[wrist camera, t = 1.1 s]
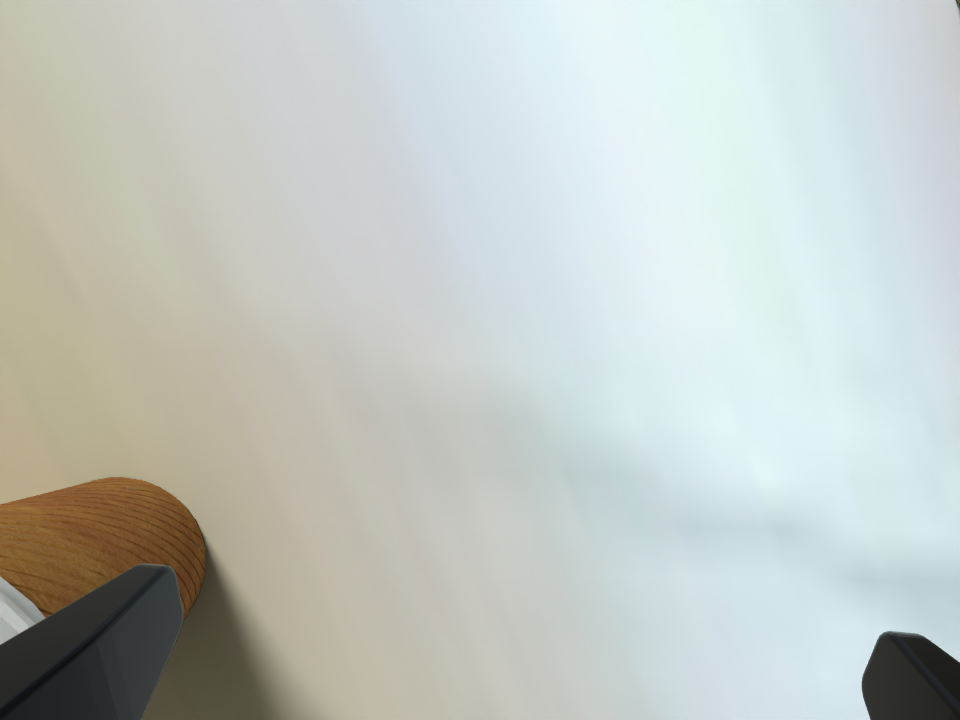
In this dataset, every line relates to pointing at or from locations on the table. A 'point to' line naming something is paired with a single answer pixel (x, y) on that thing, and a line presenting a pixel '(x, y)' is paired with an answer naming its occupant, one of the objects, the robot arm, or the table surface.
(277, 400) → the table surface
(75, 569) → the disposable coffee cup
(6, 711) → the robot arm
